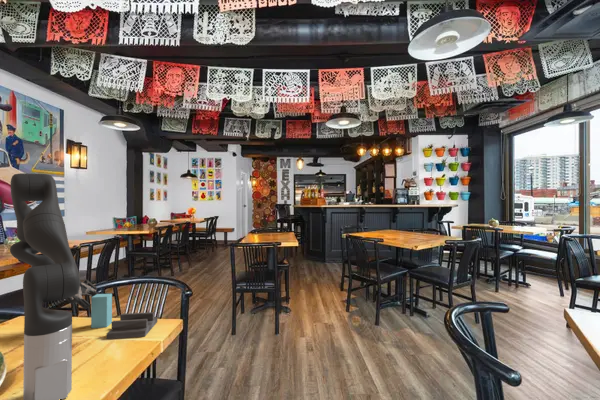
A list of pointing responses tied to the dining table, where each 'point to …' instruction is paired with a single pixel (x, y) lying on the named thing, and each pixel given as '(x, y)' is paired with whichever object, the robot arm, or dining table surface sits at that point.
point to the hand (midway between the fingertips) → (94, 303)
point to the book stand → (132, 325)
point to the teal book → (101, 310)
